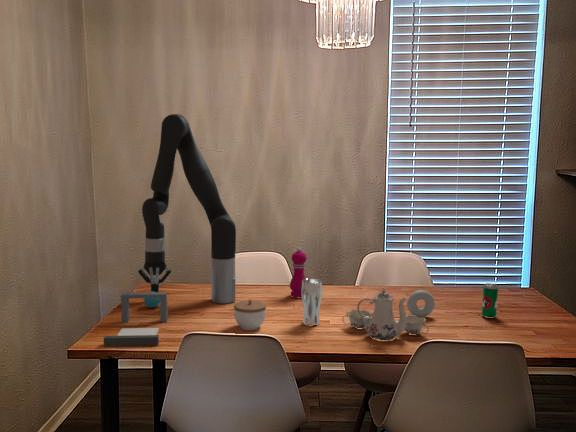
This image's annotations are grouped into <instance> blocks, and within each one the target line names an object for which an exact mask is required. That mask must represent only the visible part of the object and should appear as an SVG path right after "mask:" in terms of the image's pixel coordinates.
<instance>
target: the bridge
mask: <svg viewBox="0 0 576 432" xmlns="http://www.w3.org/2000/svg"><path fill="white" fill-rule="evenodd" d="M144 298H160V304H159V307H160V308H159V310H160V311H159V314H160V318H159V319H160V320H159V321H160V323H167V321H168V313H169V312H168V292H167V291H161V292H160V291H158V292H151V291H146V292H144V291H143V292H137V291H136V292H135V291H134V292H122V293H121V294H120V306H121V307H120V311H121V323H123V324H124V323H125V324H126V323H127V324H128V323H129V321H130V299H144Z"/></svg>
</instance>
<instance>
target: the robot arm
mask: <svg viewBox="0 0 576 432" xmlns="http://www.w3.org/2000/svg"><path fill="white" fill-rule="evenodd" d="M160 130H161V131H160V142H159V147H158V149H159V150H158V155H157V159H156V163H155V167H154V170H153V175H152V179H151V181H150V182H151V183H150V189H151V190H152V191H153V192H152V193H153V194H152V195H153V196H152V198H151V197H149V198H147V199H145V201H144V202H143V204H142V206H141V214H142V218H143V222H144V225H145V239H144V240H145V241H144V264H143V267H142V268H139V270H138V271H137V272H138V274H139V276H141V278H142V279H143V280H144V281H145V282H146V283H147V284H150V292H152V291H153V292H160V284H163V283H164V281H165V280H166V279H167V278H168V277H169V275H170V274H171V272H172V269H171V268H169V267H167V264H166V241H165V225H164V223H163V222H161V220H160V216H162V215H163V214H165V213H166V212H167V210H168V208H169V202H170V187H171V184H172V181H173V175H174V172H175V171H174V169H175V161H176V155H177V151H178V154H179V156H180V160H181V166H182V169H183V173H184V175H185V178H186V180H187V182H188V184H189V187H190V189H191V191H192V192H193V194H194V196H195V197H196V199H197V201H198V202H199V203H200V205H201V207H202V208H203V210H204V212H205V214H206V217H207V219H208V222H209V226H210V230H211V233H210V235H211V237H210V239H211V240H210V241H211V243H210V245H211V248H210V250H211V252H210V253H211V254H210V257H211V260H210V261H211V262H210V263H211V264H210V265H211V268H210V269H211V270H210V271H211V275H210V276H211V302H213V303H215V304H230V303H236V249H237V247H236V245H237V244H236V243H237V240H236V239H237V229H236V227H237V226H236V224H235V222H234V220H233V219H232V217H231V216H230V215H229V212H228V211H227V210H226V208H225V206H224V204H223V202H222V199H221V196H220V193H219V190H218V188H217V184H216V182H215V178H214V177H213V175H212V173H211V170H210V167H209V165H208V164H207V162H206V160H205V159H204V157H203V155H202V153H201V152H200V149H199V147H198V146H197V143H196V141H195V138H194V136H193V133H192V130H191V127H190V123H189V121H188V120H187V118H186V117H185V116H184V115H182V114H178V113H173V114H172V113H171V114H169V115H167V116H165V117H164V118H163V120H162V121H161V129H160ZM146 272H147V273H146ZM163 272H164V275H163V276H162V277H161V275H162V274H163ZM147 274H148V275H149V276H148V275H147ZM160 277H161V278H160Z"/></svg>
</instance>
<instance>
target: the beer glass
mask: <svg viewBox="0 0 576 432" xmlns="http://www.w3.org/2000/svg"><path fill="white" fill-rule="evenodd" d="M322 281H323V280H321V279H319V278H306V279H304V280H302V298H301V302H302V309H303V317H302V322H303V323H304V324H307V325H315V324H319V323H320V324H321V320H320V308H321V304H322V296H323V287H322V286H323V283H322ZM303 323H302V324H303ZM304 324H303V325H304ZM320 324H319V325H320Z"/></svg>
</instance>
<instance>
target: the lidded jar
mask: <svg viewBox="0 0 576 432" xmlns="http://www.w3.org/2000/svg"><path fill="white" fill-rule="evenodd" d="M233 312H234V320H235V322H236V324H237V325H238V326H239V327H240V328H241V329H242V330H244V331H256V330H258V329H259V328H260V327H261V326H262V324H263V323H264V321H265V319H266V313H267V304H266V303H265V302H263V301H261V300H260V301H259V300H252V299H248V300H242V301H238V302H234V304H233ZM255 329H256V330H255Z"/></svg>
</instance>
